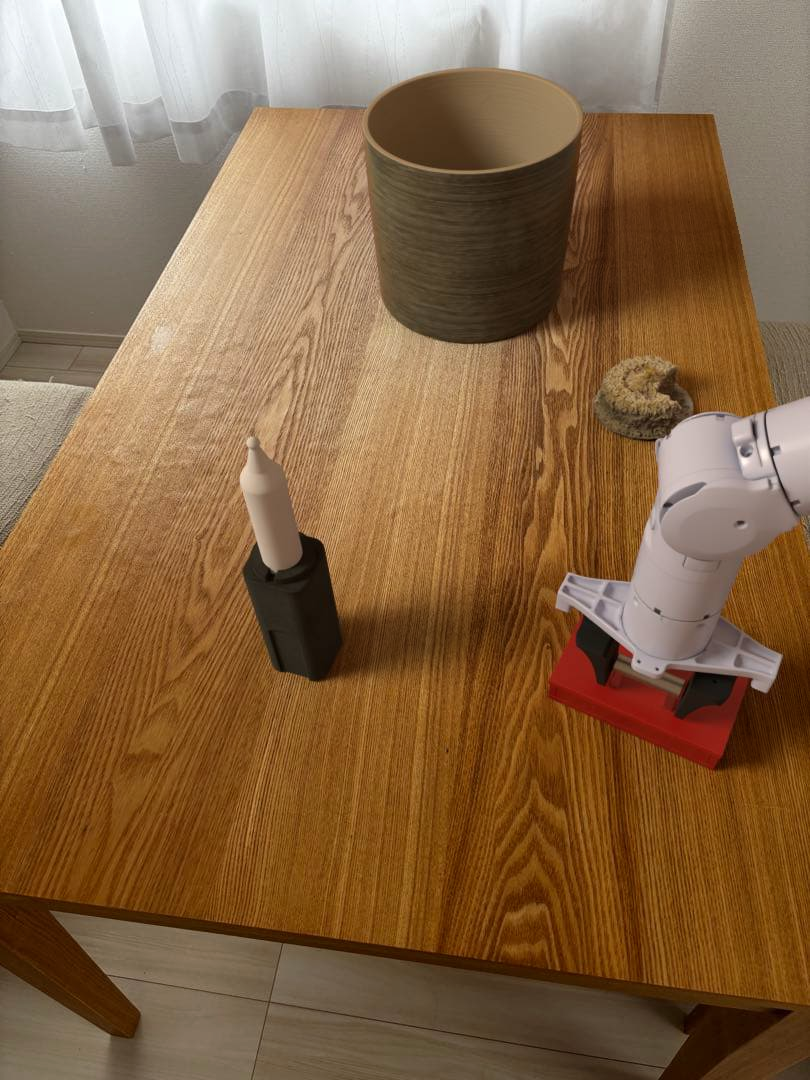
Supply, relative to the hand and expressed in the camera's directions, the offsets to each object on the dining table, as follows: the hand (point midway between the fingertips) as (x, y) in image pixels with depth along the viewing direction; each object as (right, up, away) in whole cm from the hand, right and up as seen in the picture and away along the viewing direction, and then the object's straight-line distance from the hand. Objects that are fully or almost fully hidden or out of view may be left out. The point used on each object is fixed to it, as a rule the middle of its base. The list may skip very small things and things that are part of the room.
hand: (643, 690), depth 64 cm
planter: (-10, +41, +39) cm, 57 cm away
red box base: (+2, 0, +5) cm, 5 cm away
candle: (-26, +2, +9) cm, 27 cm away
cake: (+7, +24, +25) cm, 35 cm away
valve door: (+2, +1, +3) cm, 3 cm away
